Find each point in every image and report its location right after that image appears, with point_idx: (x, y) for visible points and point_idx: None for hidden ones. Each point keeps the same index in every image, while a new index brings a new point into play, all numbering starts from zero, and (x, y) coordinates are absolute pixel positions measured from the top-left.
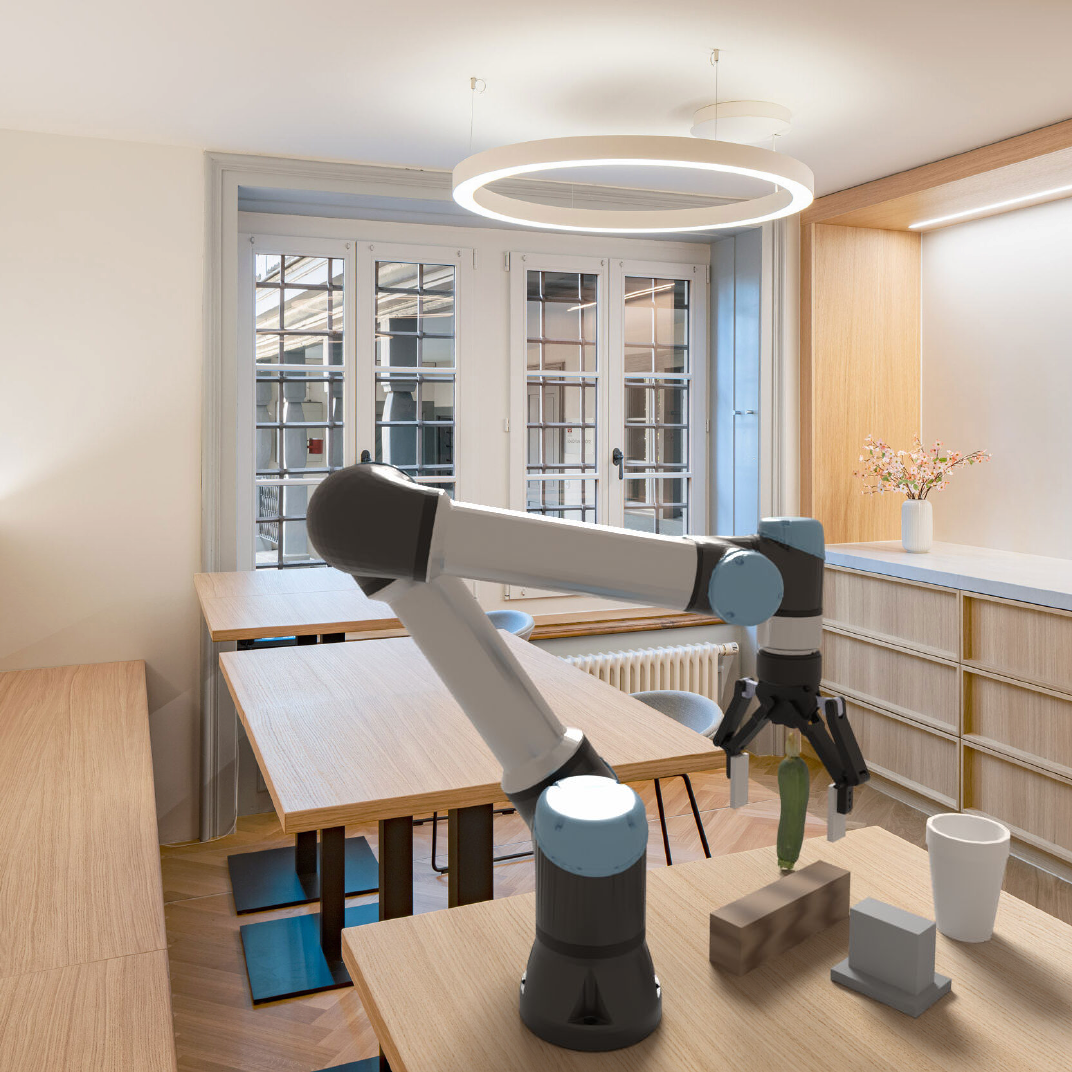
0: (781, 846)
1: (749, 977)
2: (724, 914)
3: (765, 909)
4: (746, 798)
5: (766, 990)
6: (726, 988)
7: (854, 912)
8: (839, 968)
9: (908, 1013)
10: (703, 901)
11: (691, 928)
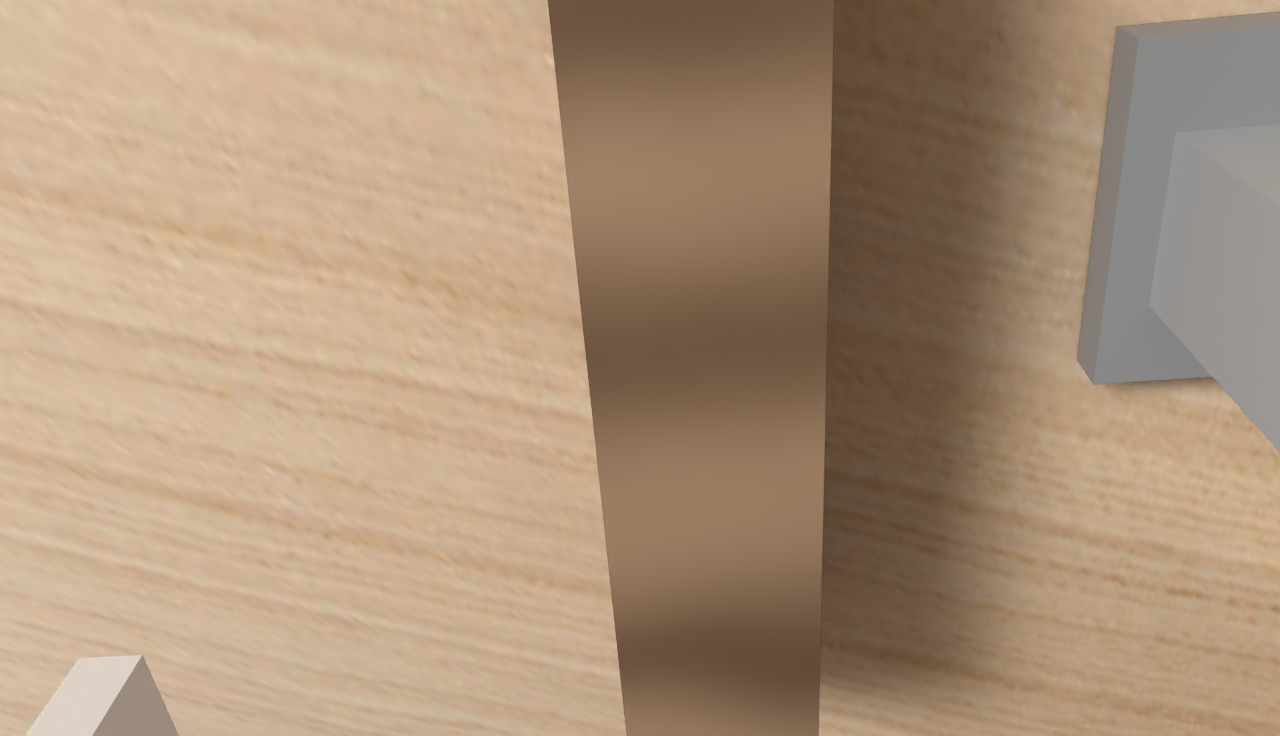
0: None
1: (823, 573)
2: (680, 727)
3: (781, 575)
4: (118, 730)
5: (923, 589)
6: None
7: None
8: (1124, 353)
9: None
10: (204, 273)
11: (400, 488)
